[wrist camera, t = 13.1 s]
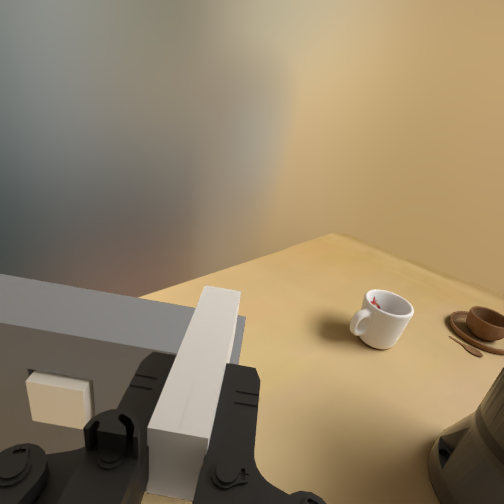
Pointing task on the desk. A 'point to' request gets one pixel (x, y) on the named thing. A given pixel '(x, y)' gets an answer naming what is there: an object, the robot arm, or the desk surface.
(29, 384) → the cream button
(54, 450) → the button panel
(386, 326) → the cup
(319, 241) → the desk surface
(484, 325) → the place setting
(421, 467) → the desk surface
